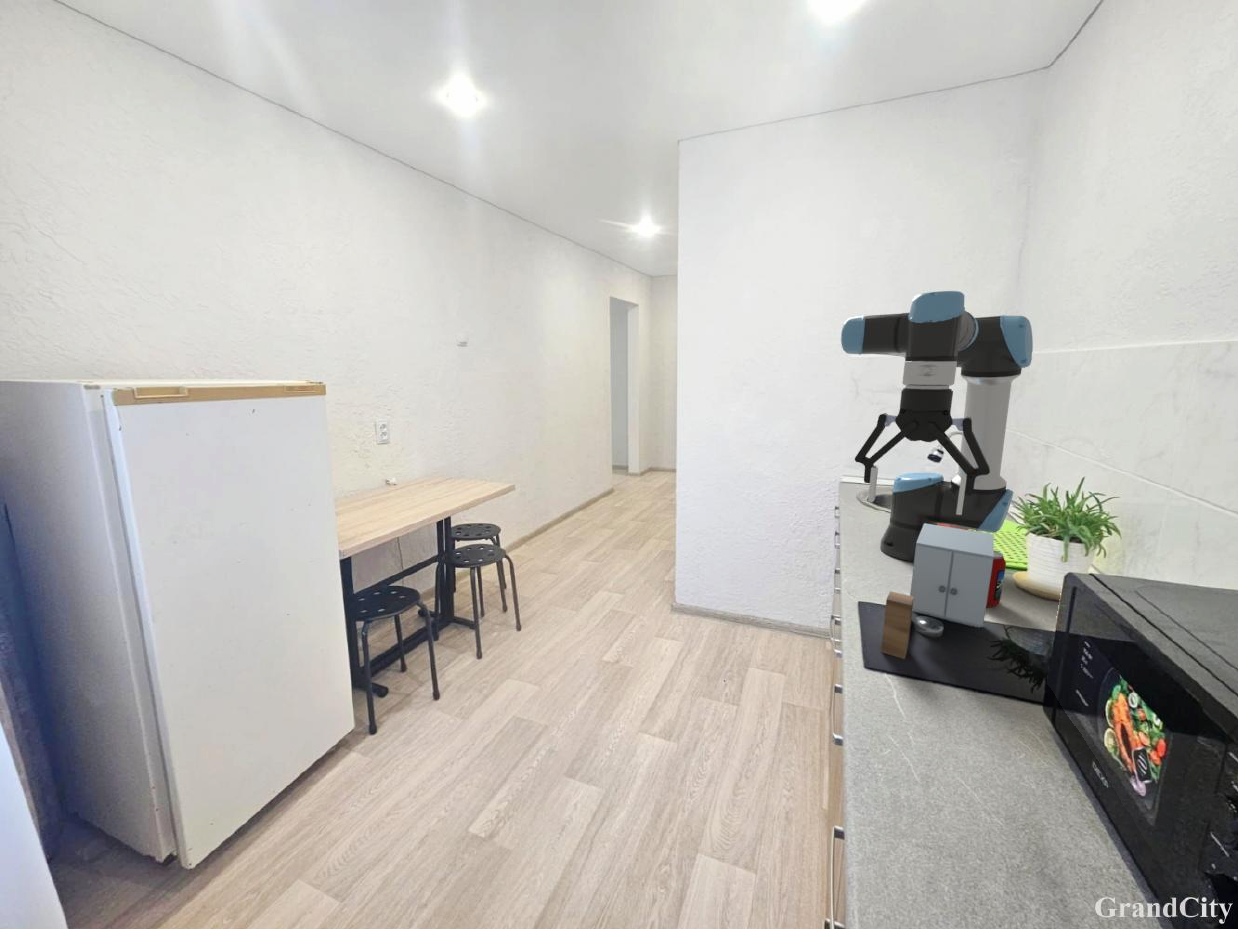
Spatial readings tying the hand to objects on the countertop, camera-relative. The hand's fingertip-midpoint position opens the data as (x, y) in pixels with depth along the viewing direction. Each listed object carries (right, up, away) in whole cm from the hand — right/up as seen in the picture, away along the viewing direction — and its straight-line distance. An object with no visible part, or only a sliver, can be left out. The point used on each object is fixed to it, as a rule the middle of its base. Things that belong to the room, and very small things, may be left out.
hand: (913, 506), depth 87 cm
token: (+11, -27, +13) cm, 32 cm away
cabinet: (+14, -27, +13) cm, 33 cm away
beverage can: (+30, -24, +24) cm, 46 cm away
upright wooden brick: (+4, -27, +11) cm, 30 cm away
